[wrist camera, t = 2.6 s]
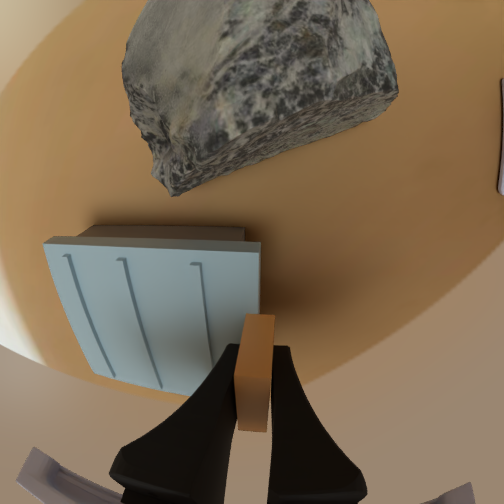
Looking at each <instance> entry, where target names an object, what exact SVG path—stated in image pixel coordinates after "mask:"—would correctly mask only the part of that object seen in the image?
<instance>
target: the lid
mask: <svg viewBox="0 0 504 504" xmlns="http://www.w3.org/2000/svg"><path fill="white" fill-rule="evenodd" d="M43 247H44V251H45V254H46V258H47V261H48V265H49V268H50V271H51V274H52V277H53V280H54V283H55V286H56V289H57V292H58V294H59V297H60V300H61V302H62V305H63V308H64V310H65V313H66V315H67V318H68V320H69V322H70V325H71V327H72V329H73V331H74V334H75V336H76V338H77V340H78V342H79V345H80V347H81V349H82V351H83V353H84V355H85V357H86V359H87V361H88V363H89V365H90V366H91V368H92V370H93V372H94V373H96V374H99V375H102V376H105V377H109V378H112V379H116V380H119V381H123V382H127V383H131V384H135V385H139V386H143V387H147V388H151V389H156V390H161V391H166V392H171V393H176V394H181V395H187V396H191V395H192V394H193V393H194V392H195V391H196V390H197V388H198V387H199V386H200V385H201V384H202V382H203V381H204V380H205V379H206V377H207V376H208V374H209V373H210V372H211V370H212V369H213V367H214V366H215V365H216V363H217V361H218V360H219V358H220V357H221V355H222V353H223V352H224V350H225V348H226V346H227V345H228V344H229V343H233V344H240V347H239V352H238V357H237V362H236V367H235V372H234V385H235V397H236V409H237V420H238V430H243V431H253V432H267V421H268V409H269V398H270V385H271V372H272V357H273V342H274V325H275V315H265V314H260V269H261V242H245V241H218V240H188V239H155V238H118V237H72V236H53V237H52V238H50V239H49V240H47V241H46V242H44V243H43Z"/></svg>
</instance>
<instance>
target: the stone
mask: <svg viewBox="0 0 504 504" xmlns="http://www.w3.org/2000/svg"><path fill="white" fill-rule="evenodd" d="M122 78H123V84H124V88H125V91H126V93H127V96H128V99H129V104H130V111H131V112H130V116H131V117H132V119H133V122H134V123H135V125H136V126H137V127H138V128H139V129H140V130H141V134H142V136H141V137H142V138H143V139H144V140H145V141H147V143H148V146H149V148H150V150H151V151H152V154H153V162H154V165H153V168H152V171H151V175H152V176H153V177H155V178H156V179H158V180H159V181H160V182H161V183H162V184H163V185H164V186H165V187H166V188H167V189H168V191H169V194H170V196H171V197H173V196H180V195H181V194H182V193H184V192H187V191H189V190H191V189H193V188H195V187H196V186H199V185H201V184H203V183H205V182H207V181H209V180H211V179H214V178H216V177H218V176H221V175H228V174H230V173H231V172H233V171H235V170H237V169H240V168H242V167H244V166H246V165H253V164H256V163H258V162H260V161H262V160H264V159H267V158H270V157H273V156H275V155H277V154H279V153H281V152H283V151H286V150H289V149H292V148H295V147H298V146H302V145H305V144H309V143H311V142H314V141H317V140H319V139H321V138H326V137H329V136H332V135H334V134H336V133H339V132H341V131H344V130H346V129H349V128H352V127H355V126H357V125H358V124H360V123H362V122H365V121H370V120H372V119H375V118H376V117H378V116H379V115H380V114H381V113H383V112H384V111H386V108H387V107H388V106H389V105H391V102H392V101H393V100H394V99H395V98H396V97H397V96H398V95H397V94H398V93H399V89H398V85H397V74H396V70H395V65H394V63H393V61H392V59H391V54H390V51H389V48H388V45H387V43H386V40H385V38H384V36H383V33H382V31H381V27H380V23H379V19H378V15H377V13H376V11H375V9H374V8H373V6H372V4H371V3H370V1H369V0H148V1H147V3H146V5H145V6H144V8H143V10H142V12H141V14H140V15H139V17H138V19H137V21H136V23H135V25H134V27H133V29H132V31H131V33H130V36H129V38H128V40H127V43H126V53H125V58H124V60H123V62H122Z"/></svg>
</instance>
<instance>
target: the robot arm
mask: <svg viewBox="0 0 504 504" xmlns="http://www.w3.org/2000/svg"><path fill="white" fill-rule="evenodd" d="M502 91H503V146H502V159H501V169H500V177H499V184H498V190H499V193H500V194H502V195H504V78H503V79H502ZM239 347H240V344H233V343H229V344H228V345H227V346H226V348H225V350H224V352H223V353H222V355H221V357H220V358H219V360H218V361H217V363H216V365H215V366H214V367H213V369H212V370H211V372H210V373H209V374H208V376H207V377H206V379H205V380H204V381H203V382H202V384H201V385H200V386H199V387H198V388H197V390H196V391H195V392H194V393H193V394H192V395H191V396H190V397H189V399H188V400H187V401H186V402H185V403H184V404H183V405H182V406H181V407H180V408H179V409H177V410H176V411H175V412H174V413H173V414H172V415H171V416H169V417H168V418H167V419H166V420H165V421H163V422H162V423H161V424H159V425H158V426H157V427H155V428H154V429H152V430H151V431H149V432H148V433H146V434H145V435H143V436H142V437H140V438H138V439H136V440H135V441H133V442H131V443H129V444H128V445H126V446H124V447H122V448H121V449H120V451H119V453H118V454H117V456H116V458H115V460H114V462H113V464H112V467H111V469H110V472H109V475H110V477H111V478H112V479H113V480H115V481H116V482H118V483H119V484H120V485H122V486H123V487H125V490H124V493H123V495H122V494H119V493H117V492H114V491H112V490H109V489H107V488H105V487H102V486H100V485H98V484H96V483H94V482H92V481H90V480H87V479H85V478H83V477H81V476H79V475H77V474H76V473H73V472H72V471H70V470H68V469H66V468H64V467H63V466H61V465H60V464H59V463H58V462H56V461H55V460H54V459H52V458H51V457H50V456H48V455H47V454H45V453H43V452H42V451H40V450H39V449H37V448H35V447H33V448H32V450H31V452H30V454H29V456H28V457H27V459H26V461H25V463H24V465H23V467H22V469H21V471H20V473H19V475H18V477H17V479H16V482H17V483H18V484H19V485H21V486H22V487H23V488H24V489H26V490H27V491H28V492H30V493H31V494H32V495H33V496H35V497H36V498H37V499H38V500H40V501H41V502H42V503H44V504H224V496H225V487H226V479H227V471H228V464H229V457H230V449H231V442H232V438H233V433H234V429H235V425H236V421H237V409H236V397H235V385H234V372H235V367H236V362H237V357H238V352H239ZM271 413H272V453H271V466H270V477H269V487H268V498H267V504H358V502H359V501H361V500H362V499H363V498H365V496H366V495H367V486H366V482H365V479H364V477H363V474H362V472H361V470H360V469H359V468H358V467H357V466H356V465H355V464H354V463H353V462H352V461H351V460H350V459H349V458H348V457H347V456H346V455H345V454H344V453H343V451H342V450H341V449H340V448H339V447H338V446H337V444H336V443H335V442H334V440H333V439H332V438H331V436H330V435H329V434H328V432H327V431H326V430H325V428H324V427H323V425H322V424H321V422H320V421H319V419H318V417H317V416H316V414H315V412H314V410H313V409H312V407H311V405H310V403H309V401H308V399H307V397H306V395H305V393H304V391H303V388H302V386H301V384H300V381H299V379H298V376H297V373H296V371H295V368H294V364H293V361H292V357H291V352H290V347H288V346H276V345H273V357H272V379H271ZM421 504H475V499H474V494H473V490H472V485H471V482H468V483H466V484H464V485H462V486H460V487H457V488H455V489H453V490H450V491H448V492H446V493H444V494H442V495H440V496H439V497H438V498H436V499H433V500H430V501H427V502H424V503H421Z"/></svg>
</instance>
